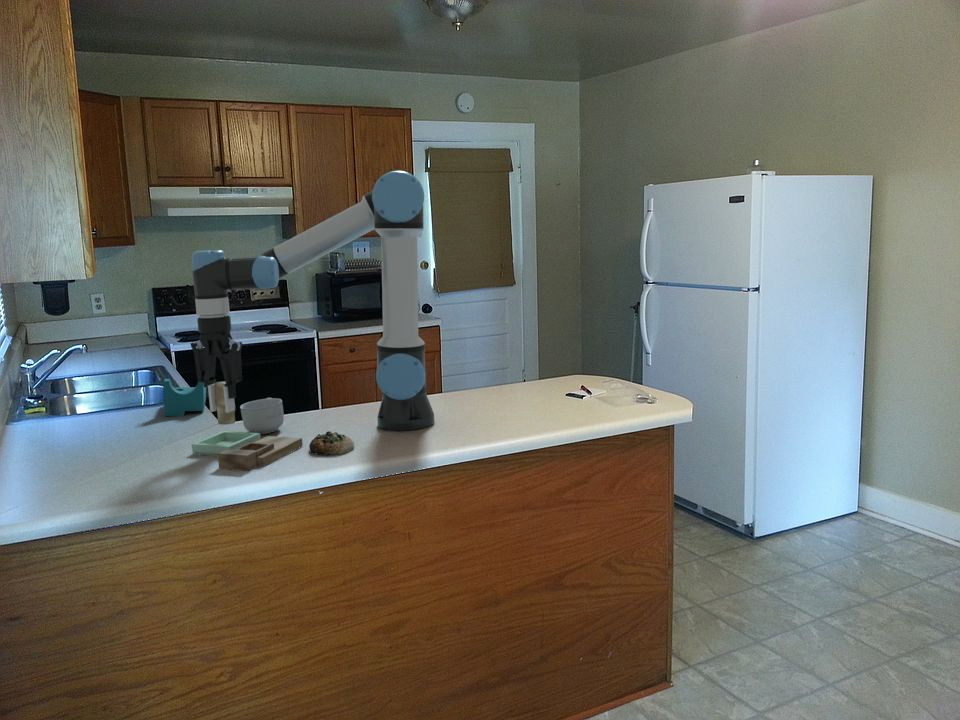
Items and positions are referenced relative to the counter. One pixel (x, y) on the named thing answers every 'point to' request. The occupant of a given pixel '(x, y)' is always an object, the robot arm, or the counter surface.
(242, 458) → the block
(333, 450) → the bread roll
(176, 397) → the teal notched cradle
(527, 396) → the counter surface
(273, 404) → the teacup
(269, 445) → the brown slotted slab
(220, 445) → the tray
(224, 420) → the dowel
